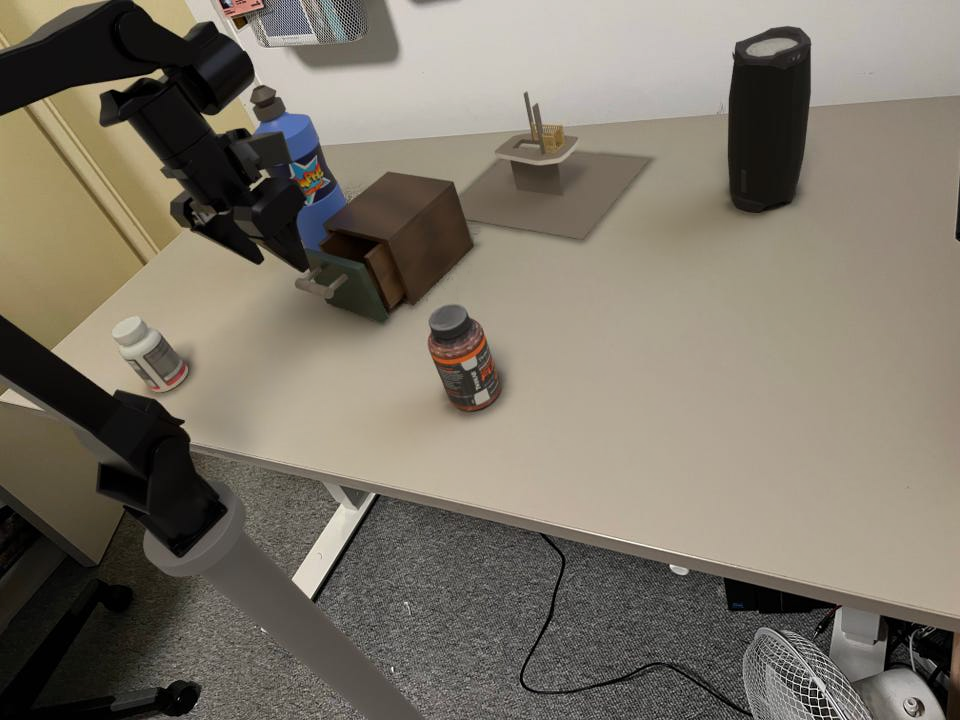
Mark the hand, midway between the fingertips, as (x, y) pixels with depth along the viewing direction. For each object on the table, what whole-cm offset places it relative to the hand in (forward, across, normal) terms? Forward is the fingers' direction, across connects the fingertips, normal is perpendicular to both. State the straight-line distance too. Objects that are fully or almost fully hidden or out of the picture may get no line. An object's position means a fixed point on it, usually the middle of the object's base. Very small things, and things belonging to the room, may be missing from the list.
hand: (282, 266), depth 70 cm
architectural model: (+20, -3, -40) cm, 45 cm away
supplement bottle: (+18, -18, -1) cm, 26 cm away
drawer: (+15, +5, -10) cm, 18 cm away
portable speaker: (+24, -34, -45) cm, 61 cm away
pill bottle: (+11, +23, +14) cm, 29 cm away
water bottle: (+14, +24, -19) cm, 34 cm away
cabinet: (+16, +5, -18) cm, 25 cm away
